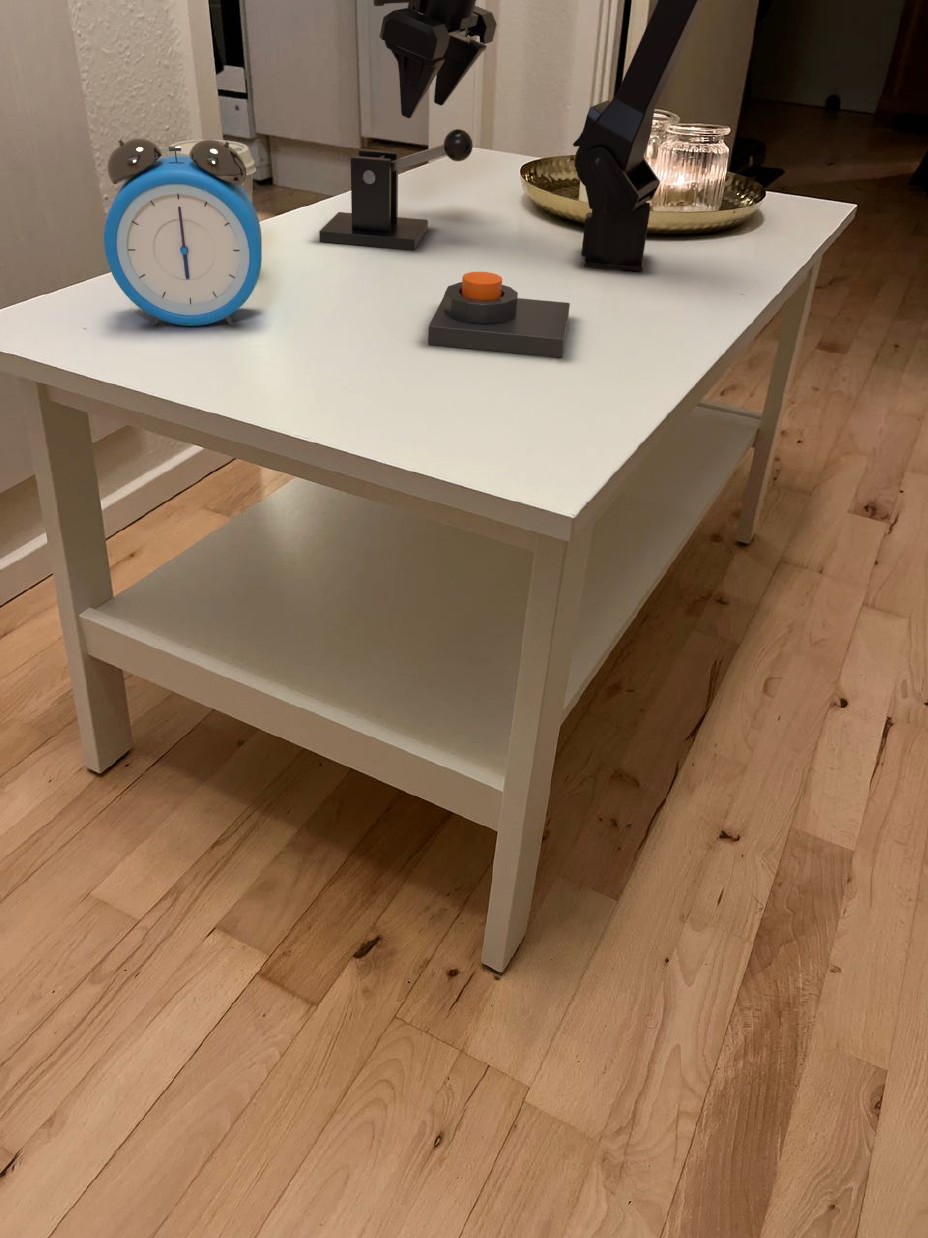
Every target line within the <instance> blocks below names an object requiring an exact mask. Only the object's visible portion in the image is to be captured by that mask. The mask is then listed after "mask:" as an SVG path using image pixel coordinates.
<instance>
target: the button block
mask: <svg viewBox="0 0 928 1238" xmlns="http://www.w3.org/2000/svg"><path fill="white" fill-rule="evenodd" d="M518 296H519V292H518V291H516V290H514V289H513V288H512V287H511V286H508V285H504V284H502V290H501V298H498V299H494V300H477V299H471V298H468V297H464V296H462V281H460V282H459V281H458V282H457V283H454V284H451V285H448V286H447V288H446V290H445V292H444V295H443V297H442V299H441V301H440V303H439V305H438V307H437V309H436V311H435V313H434V314H433V316H432V319H431V321H430V323H429V325H428V331H427V332H428V333H427V344H428V345H431V346H440V347H449V348H450V347H451V348H462V349H470V350H480V351H481V350H482V351H491V352H503V353H511V354H521V355H532V356H542V357H551V358H562V357H563V352H564V348H565V340H566V335H567V329H568V322H569V315H570V307H571V303H570V302H566V301H565V302H563V301H552V300H544V299H543V300H542V299H532V298H531V299H530V298H520V297H518Z"/></svg>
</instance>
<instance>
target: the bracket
mask: <svg viewBox="0 0 928 1238" xmlns="http://www.w3.org/2000/svg"><path fill="white" fill-rule="evenodd" d="M381 156H385V158H378V157H381ZM396 159H399V152H398V151H393V150H392V151H391V150H379V149H368V148H367V149H366V148H360V149H359V150H358V155H352V156H351V157H350V198H351V199H350V202H351V203H350V204H351V210H350V211H351V212H343V211H338V212H337V213H336V214H335V215H334V216H333V217H332V218H331V219H330V220H329V221H328V222H327V223H326V224H325V225H324V226H323V227H322V228H320V230H319V231H318V232H319V233H318V234H319V235H318V236H319V243H328V244H329V243H330V244H338V245H339V244H341V245H351V246H363V247H374V248H383V249H384V248H385V249H396V250H405V251H406V250H407V251H415V250H416V248H417V247H418V245H419V243H420V242H421V240H422V239H423V238H424V236H425V235H426V233H427V232H428V230H429V219H426V218H425V219H423V218H413V217H412V218H411V217H401V216H399V170H397V171H394V172H391V161H392V160H396Z"/></svg>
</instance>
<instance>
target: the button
mask: <svg viewBox="0 0 928 1238" xmlns="http://www.w3.org/2000/svg"><path fill="white" fill-rule="evenodd" d="M461 279H462V280H461V282H462V296H464V297H468V298H471V299H477V300H494V299H498V298H501V290H502V285H503V277H502V276H501V275H499V274H497V273H494V272H489V271H470V272H466V273H464V274H463V275H462V278H461Z"/></svg>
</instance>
